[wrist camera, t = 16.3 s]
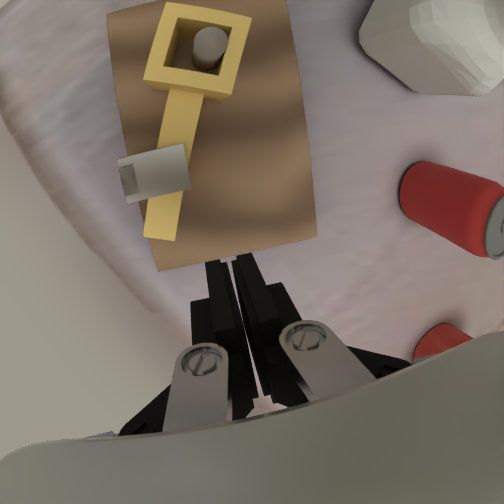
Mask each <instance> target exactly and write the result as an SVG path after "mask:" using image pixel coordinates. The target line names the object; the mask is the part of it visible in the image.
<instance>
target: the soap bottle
mask: <svg viewBox="0 0 504 504" xmlns="http://www.w3.org/2000/svg"><path fill="white" fill-rule="evenodd" d="M359 43H360V45H361V46H362V48H363V49H364V51H365V52H366V54H367V55H369V56H370V57H371V58H373V59H374V60H375V61H377V62H378V63H379V64H381V65H382V66H383V67H384V68H386V69H387V70H388V71H390V72H391V73H392V74H393V75H395V76H396V77H397V78H398V79H399V80H401V81H402V82H403V83H404V84H405V85H407V86H408V87H409V88H410V89H411V90H413V91H416V92H420V93H423V94H426V95H460V96H479V97H480V96H482V95H485V94H487V93H488V92H489V91H490V90H492V89H493V88H494V87H495V86H496V85H497V84H498V83H499V82H501V81H502V80H503V79H504V0H374V2H373V4H372V6H371V8H370V10H369V12H368V14H367V16H366V18H365V20H364V22H363V24H362V26H361V28H360V30H359Z"/></svg>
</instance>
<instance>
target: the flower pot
mask: <svg viewBox="0 0 504 504" xmlns="http://www.w3.org/2000/svg"><path fill="white" fill-rule="evenodd" d="M472 339H474V338H472V337H470V336H469V335H467V334H465V333H464V332H462V331H460V330H458V329H457V328H455V327H453V326H451V325H449V324H440V325H438V326H436V327H434V328H433V329H431V330H430V331H429V332H428V333H427V334H426V335H425V336H424V337H423V338H422V339H421V341H420V342H419V344H418V345H417V347H416V349H415V352H414V359H416V358H421V357H425V356H430V355H434V354H439V353H442V352H444V351H446V350H448V349H451V348H453V347H455V346H458V345H460V344H462V343H464V342H466V341H469V340H472Z"/></svg>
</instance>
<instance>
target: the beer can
mask: <svg viewBox="0 0 504 504" xmlns="http://www.w3.org/2000/svg"><path fill="white" fill-rule="evenodd" d="M400 203H401V206H402V209H403V211H404V213H405V214H406V216H407V217H408V218H409V219H411V220H413V221H414V222H416V223H418V224H420V225H422V226H424V227H426V228H427V229H429V230H431V231H433V232H435V233H437V234H438V235H440V236H442V237H444V238H446V239H447V240H449V241H451V242H453V243H454V244H456V245H458V246H459V247H461V248H463V249H465V250H466V251H468V252H470V253H472V254H474V255H476V256H480V257H490V258H492V259H493V260H497V259H500V258H502V257H503V256H504V187H503V186H501V185H500V184H498V183H497V182H495V181H492V180H489V179H486V178H483V177H480V176H477V175H473V174H470V173H467V172H464V171H460V170H457V169H454V168H450V167H447V166H443V165H439V164H436V163H432V162H426V161H423V162H420V163H417V164H415V165H414V166H412V167H411V168H410V169H409V170H408V172H407V173H406V175H405V176H404V178H403V181H402V184H401V188H400Z"/></svg>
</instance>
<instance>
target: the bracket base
mask: <svg viewBox="0 0 504 504" xmlns="http://www.w3.org/2000/svg"><path fill="white" fill-rule="evenodd" d="M166 2H171V3H178V4H186V5H192V6H198V7H204V8H210V9H215V10H220V11H225V12H229V13H234V14H238V15H242V16H246V17H250V18H252V20H251V24H250V27H249V31H248V34H247V38H246V41H245V45H244V49H243V52H242V56H241V60H240V63H239V67H238V71H237V75H236V79H235V82H234V86H233V90H232V94H231V95H230V96H229V97H227V98H226V99H225V100H223V101H220V100H215V99H210V98H205V97H203V101H202V106H201V110H200V114H199V118H198V123H197V127H196V131H195V136H194V141H193V145H192V150H191V155H190V160H189V164H188V165H187V160H186V155H185V149H184V144H183V143H180V144H176V145H171V146H167V147H163V148H158V149H157V145H158V140H159V135H160V130H161V125H162V121H163V116H164V112H165V107H166V103H167V99H168V95H169V91H163V90H156V89H151V88H150V86H149V85H148V84H147V83H146V82H145V81H144V80H143V77H144V73H145V69H146V66H147V62H148V58H149V55H150V51H151V48H152V44H153V41H154V38H155V34H156V31H157V28H158V25H159V22H160V19H161V16H162V13H163V10H164V7H165V4H166ZM106 15H107V26H108V36H109V45H110V53H111V61H112V68H113V75H114V82H115V89H116V95H117V101H118V107H119V113H120V118H121V124H122V129H123V134H124V139H125V144H126V149H127V154H128V156H127V157H123V158H120V159H117V163H118V168H119V172H120V176H121V181H122V185H123V189H124V193H125V197H126V201H127V204H129V203H133V202H137V201H139V205H140V209H141V213H142V217H143V221H144V225H145V219H146V211H147V204H148V199H149V198H153V197H157V196H161V195H166V194H170V193H174V192H179V191H183V196H182V201H181V207H180V213H179V218H178V224H177V230H176V237H175V241H170V240H163V239H156V238H149V237H148V239H149V243H150V246H151V250H152V253H153V257H154V260H155V263H156V267H157V270H158V272H160V271H164V270H169V269H173V268H178V267H182V266H187V265H192V264H196V263H201V262H205V261H210V260H214V259H219V258H223V257H228V256H233V255H237V254H242V253H246V252H251V251H255V250H260V249H264V248H269V247H274V246H278V245H283V244H287V243H292V242H296V241H301V240H306V239H310V238H315V237H317V227H316V214H315V203H314V192H313V181H312V172H311V162H310V153H309V144H308V136H307V128H306V120H305V113H304V106H303V98H302V92H301V85H300V78H299V72H298V66H297V60H296V54H295V48H294V42H293V36H292V31H291V26H290V20H289V15H288V10H287V5H286V0H160V1H155V2H151V3H146V4H142V5H138V6H134V7H130V8H126V9H123V10H119V11H116V12H112V13H109V14H106ZM227 46H228V37H227V35H226V33H225V32H224V31H223V30H221V29H219V28H217V27H206V28H204V29H202V30H200V31H199V32H198V33H197V34H196V36H195V38H194V40H189V39H183V38H179V40H178V44H177V47H176V51H175V54H174V58H173V61H172V65H171V68H178V69H184V70H190V71H196V72H201V73H207V74H212V75H215V74H216V71H217V67H218V63H219V61H220V59H221V57H222V56H223V54H224V52H225V50H226V48H227Z"/></svg>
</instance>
